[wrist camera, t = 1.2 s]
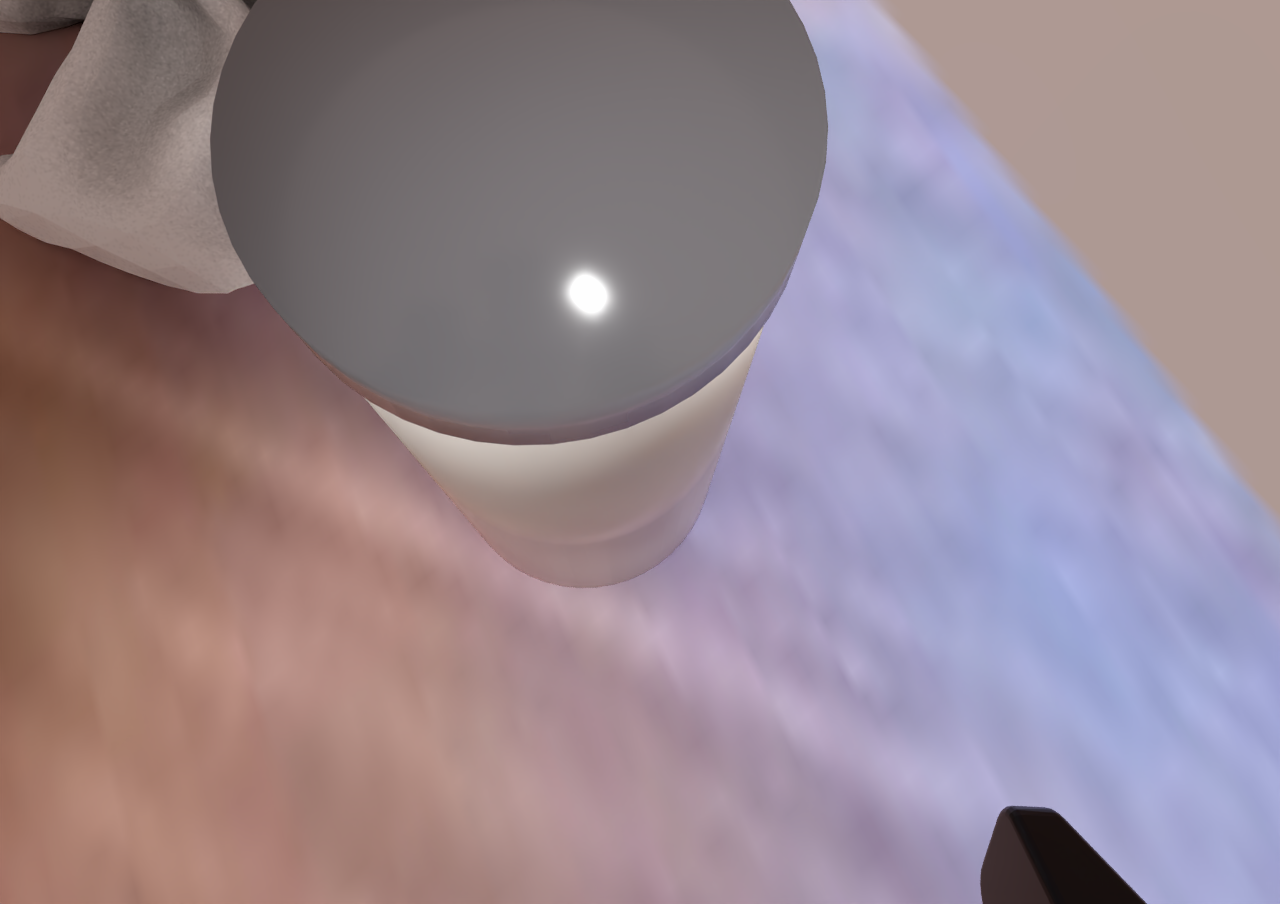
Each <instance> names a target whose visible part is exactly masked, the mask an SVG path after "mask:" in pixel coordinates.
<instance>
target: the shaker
mask: <svg viewBox="0 0 1280 904" xmlns="http://www.w3.org/2000/svg"><path fill="white" fill-rule="evenodd" d="M827 134H828V121H827V110H826V99H825V90H824V86H823V82H822V78H821V73H820V69H819V65H818V61H817V57H816V55H815V52H814V50H813V47H812V45H811V42H810V40H809V37H808V35H807V32H806V30H805V27H804V25H803V23H802V21H801V20H800V18H799V16H798V14H797V13H796V11H795V9H794V7H793V6H792V4H791V2H790V0H257V1H256V2H255V3H254V5H253V6H252V8H251V10H250V12H249V13H248V15H247V17H246V19H245V20H244V22H243V24H242V26H241V27H240V29H239V31H238V33H237V34H236V36H235V38H234V41H233V43H232V46H231V48H230V51H229V53H228V56H227V58H226V61H225V63H224V66H223V68H222V71H221V75H220V79H219V83H218V87H217V91H216V95H215V99H214V103H213V113H212V123H211V133H210V151H211V169H212V179H213V183H214V188H215V193H216V198H217V203H218V207H219V212H220V214H221V217H222V220H223V222H224V225H225V228H226V230H227V233H228V236H229V238H230V241H231V244H232V246H233V248H234V250H235V251H236V253H237V255H238V257H239V259H240V260H241V262H242V264H243V266H244V268H245V269H246V271H247V273H248V275H249V277H250V278H251V280H252V281H253V282H254V284H255V285H256V286H257V287H258V289H259V290H260V291H261V293H262V294H263V295H264V296H265V298H266V299H267V300H268V302H269V303H270V304H271V305H272V307H273V308H274V309H275V310H276V312H277V313H278V314H279V315H280V316H281V317H282V318H283V320H284V321H285V322H286V323H287V324H288V325H289V326H290V327H291V329H292V330H293V331H294V332H295V333H296V334H297V335H298V336H299V338H300V339H301V340H302V341H303V342H304V343H305V344H306V346H307V347H308V348H309V349H310V350H311V351H312V352H313V353H314V355H315V356H316V357H317V358H318V359H319V360H320V361H321V362H322V363H323V364H324V365H325V366H327V367H328V368H329V369H330V370H331V371H332V372H333V373H334V374H335V375H336V376H337V377H338V378H339V379H340V380H341V381H342V382H343V383H345V384H346V385H348V386H349V387H350V388H352V389H353V390H355V391H356V392H357V393H359V394H360V395H361V396H363V397H364V398H365V399H366V400H367V401H368V403H369V404H370V405H371V406H372V407H373V409H374V410H375V411H376V412H377V413H378V414H379V416H380V417H381V418H382V419H383V420H384V422H385V423H386V424H387V425H388V426H389V427H390V429H391V430H392V431H393V432H394V433H395V435H396V436H397V437H398V438H399V439H400V440H401V442H402V443H403V444H404V445H405V446H406V448H407V449H408V450H409V451H410V452H411V453H412V455H413V456H414V457H415V458H416V459H417V461H418V462H419V463H420V464H421V465H422V466H423V468H424V469H425V470H426V471H427V472H428V474H429V475H430V476H431V477H432V478H433V479H434V481H435V482H436V483H437V484H438V485H439V487H440V488H441V489H442V490H443V491H444V492H445V494H446V495H447V496H448V497H449V498H450V499H451V501H452V502H453V503H454V504H455V505H456V507H457V508H458V509H459V510H460V511H461V512H462V514H463V515H464V516H465V517H466V518H467V520H468V521H469V522H470V523H471V524H472V525H473V527H474V528H475V529H476V530H477V531H478V533H479V534H480V535H481V536H482V537H483V538H484V540H485V541H486V542H487V543H488V544H489V546H490V547H491V548H492V549H493V550H494V551H495V552H496V553H497V554H498V555H499V556H500V557H502V558H503V559H504V560H505V561H507V562H508V563H509V564H511V565H512V566H513V567H515V568H516V569H518V570H520V571H522V572H523V573H525V574H527V575H529V576H531V577H533V578H536V579H539V580H541V581H544V582H547V583H551V584H555V585H559V586H565V587H575V588H596V587H602V586H608V585H614V584H617V583H620V582H624V581H627V580H630V579H632V578H634V577H637V576H639V575H641V574H643V573H645V572H647V571H648V570H650V569H652V568H653V567H655V566H657V565H658V564H659V563H661V562H662V561H663V560H664V559H666V558H667V557H668V556H669V555H671V554H672V553H673V552H674V550H675V549H676V548H677V547H678V546H679V545H680V544H681V543H682V542H683V541H684V539H685V538H686V536H687V535H688V534H689V532H690V531H691V530H692V528H693V526H694V524H695V522H696V520H697V519H698V517H699V515H700V512H701V510H702V507H703V504H704V502H705V499H706V496H707V493H708V490H709V487H710V484H711V481H712V478H713V475H714V472H715V469H716V466H717V463H718V460H719V457H720V454H721V451H722V448H723V445H724V442H725V439H726V436H727V433H728V430H729V428H730V425H731V422H732V419H733V416H734V413H735V410H736V407H737V404H738V401H739V398H740V395H741V392H742V389H743V386H744V383H745V380H746V377H747V374H748V371H749V368H750V365H751V362H752V359H753V356H754V353H755V350H756V347H757V344H758V341H759V338H760V335H761V332H762V329H763V326H764V324H765V323H766V322H767V320H768V319H769V317H770V316H771V314H772V312H773V310H774V308H775V306H776V304H777V303H778V301H779V299H780V297H781V295H782V293H783V292H784V290H785V288H786V285H787V283H788V280H789V277H790V275H791V272H792V269H793V266H794V264H795V261H796V258H797V256H798V253H799V250H800V247H801V244H802V242H803V239H804V236H805V233H806V230H807V228H808V225H809V222H810V219H811V217H812V214H813V211H814V208H815V205H816V203H817V200H818V197H819V192H820V187H821V182H822V178H823V173H824V168H825V164H826V151H827Z"/></svg>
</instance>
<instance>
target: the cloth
mask: <svg viewBox="0 0 1280 904" xmlns="http://www.w3.org/2000/svg"><path fill="white" fill-rule="evenodd" d="M256 1H257V0H0V32H2V33H18V34H37V33H41V32H46V31H50V30H55V29H59V28H63V27H68V26H70V25H73V24H76V23H78V22H81V21H84V23H83V25H82V27H81V30H80V32H79V34H78V36H77V39H76V41H75V43H74V45H73V48H72V49H71V51H70V52H69V54H68V55H67V57H66V59H65V60H64V62H63V63H62V65H61V66H60V68H59V69H58V71H57V72H56V74H55V75H54V77H53V79H52V81H51V83H50V85H49V87H48V89H47V91H46V93H45V95H44V97H43V99H42V101H41V102H40V104H39V106H38V108H37V110H36V112H35V114H34V116H33V118H32V120H31V121H30V123H29V125H28V127H27V129H26V131H25V133H24V135H23V137H22V138H21V140H20V142H19V144H18V146H17V148H16V150H15V152H14V154H9V155H1V156H0V218H1V219H2V220H4V221H5V222H7V223H9V224H10V225H12V226H13V227H15V228H17V229H18V230H20V231H22V232H24V233H26V234H28V235H30V236H32V237H35V238H37V239H39V240H41V241H44V242H46V243H50V244H54V245H58V246H62V247H66V248H70V249H73V250H75V251H77V252H80V253H82V254H84V255H86V256H89V257H91V258H93V259H95V260H97V261H100V262H102V263H105V264H107V265H110V266H112V267H115V268H117V269H120V270H123V271H125V272H128V273H130V274H133V275H136V276H139V277H142V278H145V279H148V280H151V281H154V282H157V283H160V284H163V285H166V286H170V287H174V288H179V289H183V290H187V291H191V292H194V293H230V292H232V291H234V290H236V289H239V288H242V287H245V286H248V285H251V284H254V282H253V281H252V280H251V278H250V277H249V275H248V273H247V271H246V269H245V268H244V266H243V264H242V262H241V260H240V259H239V257H238V255H237V253H236V251H235V250H234V248H233V246H232V244H231V241H230V238H229V236H228V233H227V230H226V228H225V225H224V222H223V220H222V217H221V214H220V212H219V207H218V203H217V198H216V193H215V188H214V183H213V179H212V169H211V151H210V133H211V123H212V113H213V103H214V99H215V95H216V91H217V87H218V83H219V79H220V75H221V71H222V68H223V66H224V63H225V61H226V58H227V56H228V53H229V51H230V48H231V46H232V43H233V41H234V38H235V36H236V34H237V33H238V31H239V29H240V27H241V26H242V24H243V22H244V20H245V19H246V17H247V15H248V13H249V12H250V10H251V8H252V6H253V5H254V3H255V2H256Z"/></svg>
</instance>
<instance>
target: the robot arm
mask: <svg viewBox="0 0 1280 904" xmlns="http://www.w3.org/2000/svg"><path fill="white" fill-rule="evenodd" d="M980 885H981V896H982V902H983V904H1147V903H1146V902H1145V901H1144V900H1143V899H1142V898H1141V897H1140V896H1139V895H1138V894H1137V893H1136V892H1135V891H1134V890H1133V889H1132V888H1131V887H1130V886H1129V885H1128V884H1127V883H1126V882H1125V881H1124V880H1123V879H1122V878H1121V877H1120V876H1119V875H1118V873H1117V872H1116V871H1115V870H1114V869H1113V868H1112V867H1111V866H1110V865H1109V864H1108V863H1107V862H1106V861H1105V860H1104V859H1103V858H1102V857H1101V856H1100V855H1099V854H1098V853H1097V852H1096V851H1095V850H1094V849H1093V848H1092V847H1091V846H1090V845H1089V844H1088V843H1087V841H1086V840H1085V839H1084V838H1083V837H1082V836H1081V835H1080V834H1079V833H1078V832H1077V831H1076V830H1075V829H1074V828H1073V827H1072V826H1071V825H1070V824H1069V823H1068V822H1067V821H1066V820H1065V819H1064V818H1063V817H1062V816H1061V815H1060V814H1059V813H1057V812H1056V811H1054V810H1052V809H1050V808H1045V807H1027V806H1008V807H1006V808H1004V809H1003V810H1002V811H1001V812H1000V814H999V816H998V819H997V822H996V825H995V828H994V831H993V834H992V837H991V840H990V843H989V846H988V849H987V852H986V855H985V859H984V862H983V865H982V869H981V882H980Z"/></svg>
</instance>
